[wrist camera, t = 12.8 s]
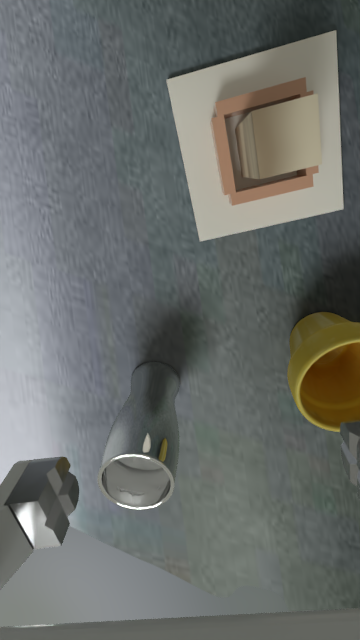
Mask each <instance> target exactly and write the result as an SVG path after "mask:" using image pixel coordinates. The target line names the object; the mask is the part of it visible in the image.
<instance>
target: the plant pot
mask: <svg viewBox="0 0 360 640" xmlns="http://www.w3.org/2000/svg"><path fill="white" fill-rule="evenodd" d="M290 352H291V359H290V362H289V366H288V382H289V386H290V389H291V392H292V395H293V398H294V400H295V402H296V405H297V407H298V409H299V410H300V412H301V413H302V414H303V416H304V417H305V418H306V419H308V420H309V421H310V422H311V423H313V424H314V425H316V426H318V427H320V428H323V429H326V430H330V431H336V432H340V425H341V422H346V421H354V420H360V323H358V322H351V321H349V320H347V319H345V318H343V317H341V316H339V315H336V314H334V313H330V312H318V313H313V314H310V315H308V316H306V317H305V318H303V319H302V320H300V321H299V322H298V323H297V324H296V326H295V327H294V328H293V330H292V332H291V335H290Z"/></svg>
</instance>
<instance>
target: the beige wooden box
mask: <svg viewBox="0 0 360 640" xmlns="http://www.w3.org/2000/svg"><path fill="white" fill-rule="evenodd" d="M235 134H236V141H237V147H238V154H239V161H240V168H241V174H242V177H247V178H254V179H264V178H268V177H272V176H276V175H280V174H284V173H288V172H292V171H296V170H301V169H305V168H309V167H313V166H317V165H321V164H322V153H321V137H320V121H319V105H318V93H317V94H313V95H309V96H306V97H302V98H298V99H295V100H291V101H287V102H284V103H280V104H276V105H273V106H269V107H265V108H261V109H258V110H254V111H251V112H250V113H249V114H248V116H247V117H246V118H245V119H244V120H243V121H242V122H241V123H240V124H239V125H238V126H237V127H236V129H235Z"/></svg>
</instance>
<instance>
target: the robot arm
mask: <svg viewBox="0 0 360 640" xmlns="http://www.w3.org/2000/svg"><path fill="white" fill-rule="evenodd" d="M340 434H341V436H342V438H343V440H344V442H343V444H342V445H341V456H342V461H343V465H344V468H345V471H346V474H347V476H348V478H349V480H350V482H351V483H353V484H354V485H356V486H357V497H358V499H359V501H360V420H354V421H346V422H341V425H340ZM69 468H70V464H69V462H68V460H67V458H66V457H54V458H44V459H34V460H27V461H19V462H17V463H15V464H14V465H13V467H12V468H11V470H10V471H9V473H8V474H7V476H6V478H5V479H4V481H3V482H2V484H1V485H0V590H1V589H2V588H3V586H4V585H5V584H6V583H7V582H8V581H9V579H10V578H11V577H12V576H13V574H14V573H15V572H16V571H17V570H18V569H19V568H20V566H21V565H22V564H23V563H24V562H25V561H26V559H27V558H28V557H29V556H30V555H31V554H32V552H33V549H41V548H48V547H49V548H50V547H57V546H61V545H62V543H63V540H64V537H65V535H66V532H67V529H68V527H69V524H70V523H69V520H68V516H69V515H70V514H71V513H72V512H73V511H74V510H75V508H76V505H77V502H78V497H79V486H78V481H77V479H76V477H75V476H74V475H73V474H71V473H70V472H68V471H69ZM0 640H360V608H353V609H334V610H315V611H296V612H278V613H258V614H238V615H219V616H200V617H183V618H182V617H181V618H161V619H144V620H143V619H142V620H123V621H106V622H84V623H65V624H46V625H26V626H8V627H0Z"/></svg>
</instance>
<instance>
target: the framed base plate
mask: <svg viewBox="0 0 360 640" xmlns="http://www.w3.org/2000/svg"><path fill="white" fill-rule="evenodd" d="M167 85H168V90H169V95H170V100H171V104H172V109H173V114H174V119H175V124H176V128H177V133H178V138H179V143H180V148H181V152H182V157H183V162H184V167H185V172H186V177H187V181H188V186H189V191H190V196H191V201H192V205H193V210H194V215H195V220H196V225H197V229H198V234H199V239H200V241H204V240H209V239H213V238H218V237H222V236H227V235H231V234H236V233H240V232H244V231H249V230H253V229H258V228H262V227H267V226H271V225H275V224H280V223H284V222H289V221H293V220H298V219H302V218H306V217H311V216H315V215H320V214H324V213H329V212H333V211H337V210H342V209H344V208H343V184H342V159H341V135H340V111H339V86H338V62H337V38H336V30H334V31H331V32H328V33H324V34H321V35H317V36H314V37H311V38H307V39H304V40H300V41H297V42H294V43H290V44H287V45H283V46H280V47H277V48H273V49H270V50H266V51H263V52H260V53H256V54H253V55H249V56H246V57H243V58H239V59H236V60H232V61H229V62H225V63H222V64H219V65H215V66H212V67H208V68H205V69H202V70H198V71H195V72H191V73H188V74H185V75H181V76H178V77H174V78H171V79H168V80H167ZM317 93H318V105H319V121H320V137H321V153H322V164H321V165H317V166H313V167H309V168H305V169H301V170H296V171H292V172H288V173H284V174H280V175H276V176H272V177H268V178H264V179H254V178H247V177H242V174H241V168H240V161H239V154H238V147H237V141H236V134H235V129H236V127H237V126H238V125H239V124H240V123H241V122H242V121H243V120H244V119H245V118H246V117H247V116H248V114H249V113H250V112H251V111H254V110H258V109H261V108H265V107H269V106H273V105H276V104H280V103H284V102H287V101H291V100H295V99H298V98H302V97H306V96H309V95H313V94H317Z"/></svg>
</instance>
